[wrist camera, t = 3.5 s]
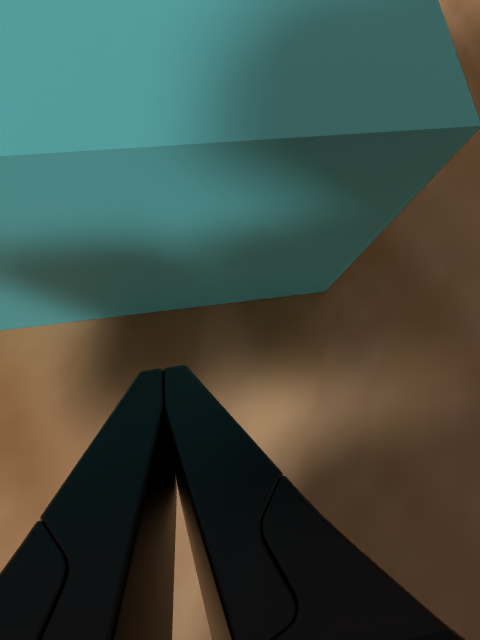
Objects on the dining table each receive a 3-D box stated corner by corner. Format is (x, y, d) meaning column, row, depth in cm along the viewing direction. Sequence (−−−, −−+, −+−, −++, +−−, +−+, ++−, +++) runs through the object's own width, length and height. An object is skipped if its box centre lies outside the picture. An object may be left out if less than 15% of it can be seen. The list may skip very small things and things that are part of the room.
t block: (325, 291, 16) (481, 125, 7) (-12, 331, 14) (-324, 176, 6) (276, 66, 19) (350, -254, 10) (-16, 77, 17) (-235, -298, 8)
